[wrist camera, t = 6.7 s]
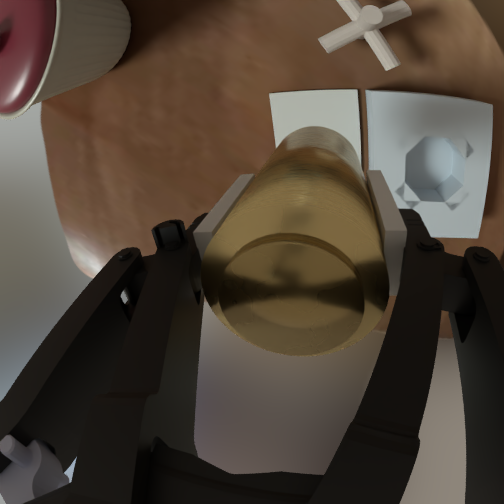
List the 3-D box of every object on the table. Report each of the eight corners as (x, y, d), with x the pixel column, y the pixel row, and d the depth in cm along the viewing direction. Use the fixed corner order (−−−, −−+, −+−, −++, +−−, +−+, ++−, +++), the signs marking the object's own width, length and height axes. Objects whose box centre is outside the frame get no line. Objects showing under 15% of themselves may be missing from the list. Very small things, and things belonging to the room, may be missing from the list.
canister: (148, 92, 35) (18, 129, 17) (59, 96, 37) (-49, 136, 20) (160, -29, 24) (38, -64, 7) (66, -3, 27) (-45, 2, 10)
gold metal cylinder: (267, 129, 19) (171, 219, 8) (358, 124, 17) (403, 214, 6) (278, 209, 22) (217, 360, 11) (360, 208, 21) (377, 371, 10)
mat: (269, 93, 32) (269, 93, 31) (356, 89, 29) (357, 89, 29) (279, 173, 37) (279, 173, 36) (360, 171, 34) (361, 172, 34)
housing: (365, 89, 29) (371, 91, 25) (474, 99, 25) (492, 104, 21) (368, 216, 37) (371, 235, 33) (464, 219, 33) (477, 238, 29)
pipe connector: (419, 53, 24) (450, 46, 16) (348, 86, 29) (355, 89, 21) (370, -18, 21) (382, -49, 13) (298, 17, 26) (285, -6, 18)
